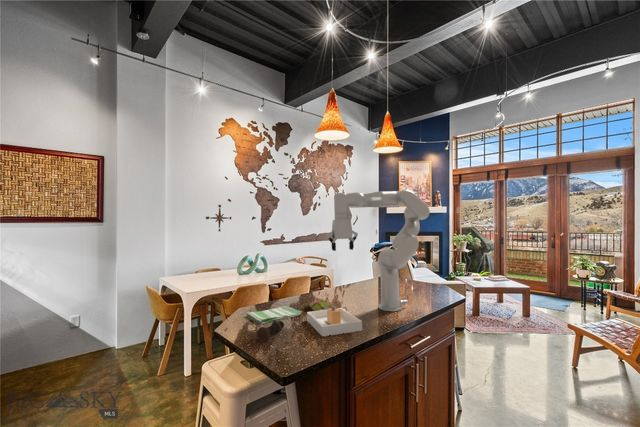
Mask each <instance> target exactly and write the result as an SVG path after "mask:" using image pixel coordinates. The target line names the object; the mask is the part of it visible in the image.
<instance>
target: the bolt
mask: <svg viewBox="0 0 640 427" xmlns="http://www.w3.org/2000/svg"><path fill="white" fill-rule="evenodd" d="M284 327H285V323H284V322H283V321H282V320H277V321H274V322H271V324H270V325H269V326H267V327H265V326H260V327H258V329H257V331H256V337H257V339H258V340H259V341H261V342H267V341H268V340H269V338H270V336H271V335H273V334H274V333H276V334H279V333H280V332H281V331H282V329H283V328H284Z"/></svg>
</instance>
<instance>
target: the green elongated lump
mask: <svg viewBox="0 0 640 427" xmlns="http://www.w3.org/2000/svg"><path fill="white" fill-rule="evenodd" d="M332 306H333V304H330V301H329V300H328V299H326V300H324V298H318V297H317V298H312V299H310V300H309V301H307V303H305V305H304V308H305V309H307V308H310V309H311V310H312V311H320V310H327V309H329V308H332Z"/></svg>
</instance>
